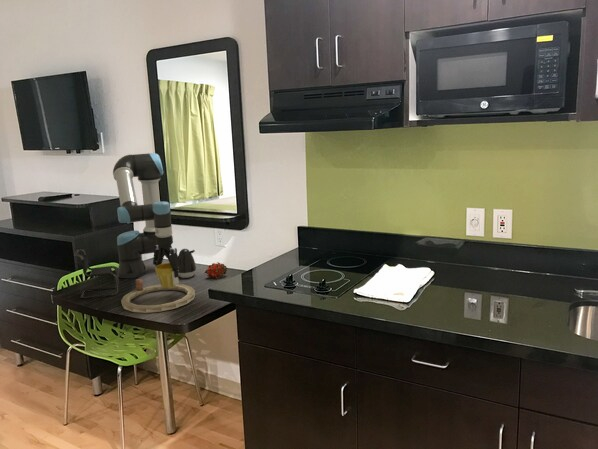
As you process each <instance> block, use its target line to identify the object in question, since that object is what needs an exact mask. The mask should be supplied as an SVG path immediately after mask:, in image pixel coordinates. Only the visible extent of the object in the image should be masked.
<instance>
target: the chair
mask: <svg viewBox="0 0 598 449" xmlns="http://www.w3.org/2000/svg"><path fill="white" fill-rule="evenodd" d="M79 252H83V253H84V254H83V255H84V256H83V255H81V254H79ZM73 256H74V258H75V257H76V258H77V257H79V258H80V259H81V260H80V261H81V266H82V271H83V276H85V277H87V278H96V277H104V276H110V275H111V276H113V278H114V285H113V286H105V287H104V286H103V287H96V288H95V287H94V288H89V289H85V290H83V291H82V292H81V293H80V299H81V298H86V299H85V300H88V299H87V298H91V299H96V298H97V299H98V297H99V298H106V296H107V297H113V296H116V295H117V294H118V293H119V285H120V279H119V277H118V268H117V267H116V266H114V265H109V266H108V265H107V266H98V267H90V266H89V261H88V260H89V259H88V253H87V251H86V249H84V248H77V249H76V250H75V252H74V254H73ZM112 269H113V270H114V271H115V273H114V272H111V271H112ZM88 270H89V271H90V274H88V273H87V272H88ZM103 289H104V290H113V289H115V292H112V293H107V294H98V295H91V296H85V293H86V292H85V291H88V290H96V291H102V290H103ZM84 292H85V293H84Z"/></svg>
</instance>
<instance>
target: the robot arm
mask: <svg viewBox="0 0 598 449" xmlns="http://www.w3.org/2000/svg"><path fill="white" fill-rule="evenodd" d="M112 170H113V171H112V175H113V179H114V180H115V181H116V186H117V191H118V199H119V204H120V206H118V207H117V218H118V222H119V223H120V224H125V223H127V224H130V223H138V222H145V226H144V228H143V229H142V231H143V232H140V231H139V230H129V231H126V232H123V233H121V234H119V235H118V236H117V237H116V242H117V243H116V244H117V251H118V261H119V264H118V266H117V267H118V268H117V270H118V277H119V278H120V279H135V278H140V277H142V276H144V275H146V274H147V273H148V269H147V267H146V264H145V263H144V261H143V257H142V256H143V255H148V254H153V258H152V259H153V260H152V264H153V266H155V267H156V266H157V265H159V264H163V260H164V257H166V259H167V260H168V263H170V265H171V267H172V269H173V270H172V279H173V285H175V284H180V282H179V281H180V280H179V277H180V276H179V275H178V270H179V269H181V265H180V262H179V258H178V255H179V254H178V249H177V248H176V247H174V248H173V247H172V246H173V245H172V244H173V243H174V238H173V237H174V236H173V228H172V218H171V206H170V203H169V201H161V199H160V197H161V196H160V189H159V188H160V186H159V182H160V180H161V177H162V176H163V175H164V168H163V164H162V160H161V157H160V155H159V154H158V153H154V152H153V153H152V152H151V153H149V152H147V153H137V154H135V153H134V154H127V155H124V156H122V157H120V159H118V160H117V161H116V163H115V164H114V166H113V169H112ZM133 178H137V180H138V182H140V184H141V191H142V192H141V193H142V202H143V204H138V201H137V200H138V199H137V195H136V190H135V186H134V181H133ZM157 281H160V280H159V277H158V276H157Z"/></svg>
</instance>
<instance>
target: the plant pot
mask: <svg viewBox="0 0 598 449" xmlns="http://www.w3.org/2000/svg"><path fill="white" fill-rule="evenodd" d="M172 270H173V269H172V267H171V265H170V262H165V263H163V262H162V264H159V265H157V266H156V265H155V275H157V278H158V277H159V280H158V281H159V282H160V284H161V286H162V287H164V288H170V287H174V286H175V285H176V284H175V285H173V279H172ZM178 271H179V270H178Z"/></svg>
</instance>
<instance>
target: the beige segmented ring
mask: <svg viewBox="0 0 598 449" xmlns="http://www.w3.org/2000/svg"><path fill="white" fill-rule="evenodd" d="M143 283H144V282H143V279H142V278H137V279H135V286H136V287H135V288H136V289H134V290H131V291H130V292H128V293H127V294H125V295H124V296H123V297H122V298H121V300H120V302H121V306H122V308H123V309H124V310H127V311H129V312H132V313H145V314H148V313H157V312H159V313H160V312H164V311H170V310H174V309H178V308H179V307H183V306H185V305H187V304H189V303H190V302H192V301H193V300H194V299H195V296H196V290H195V289H194V288H193V287H192V286H190V285H187V284H181V283H178V284H176V285H175V286H174V287H170V288H164V287H162V286H161V283H160V284H154V285H153V284H152V285H149V286H144V284H143ZM168 290H169V291H180V292H183V293H186V294H185V296H183V297H181V298H180V299H179V298H178V299H176V300H174V301H172V302H167V303H162V304H156V305H155V304H152V305H146V304H145V305H142V304H141V305H140V304H136V303H133V302H131V301H132V300H133V299H135V298H137V297H139V296H141V295H145V294H148V293H152V292H156V291H168Z"/></svg>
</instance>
